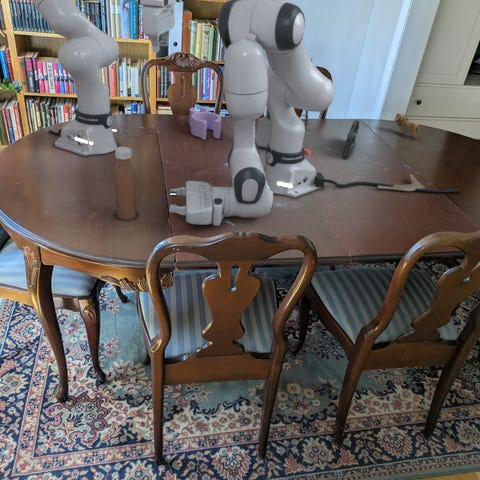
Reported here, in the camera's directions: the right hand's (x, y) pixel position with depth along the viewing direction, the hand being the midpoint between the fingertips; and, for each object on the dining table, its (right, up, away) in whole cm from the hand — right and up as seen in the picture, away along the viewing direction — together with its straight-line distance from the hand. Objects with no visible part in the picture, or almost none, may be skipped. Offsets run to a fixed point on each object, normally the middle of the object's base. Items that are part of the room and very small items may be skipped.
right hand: (169, 200), depth 135 cm
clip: (+5, +35, +66) cm, 75 cm away
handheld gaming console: (+66, +26, +62) cm, 95 cm away
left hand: (-3, +45, +2) cm, 45 cm away
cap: (-11, +13, -9) cm, 19 cm away
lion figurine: (+98, +38, +86) cm, 136 cm away
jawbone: (+78, +9, +37) cm, 87 cm away
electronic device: (+33, +26, +57) cm, 71 cm away
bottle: (-13, -4, +2) cm, 14 cm away
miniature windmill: (+47, +42, +84) cm, 105 cm away
